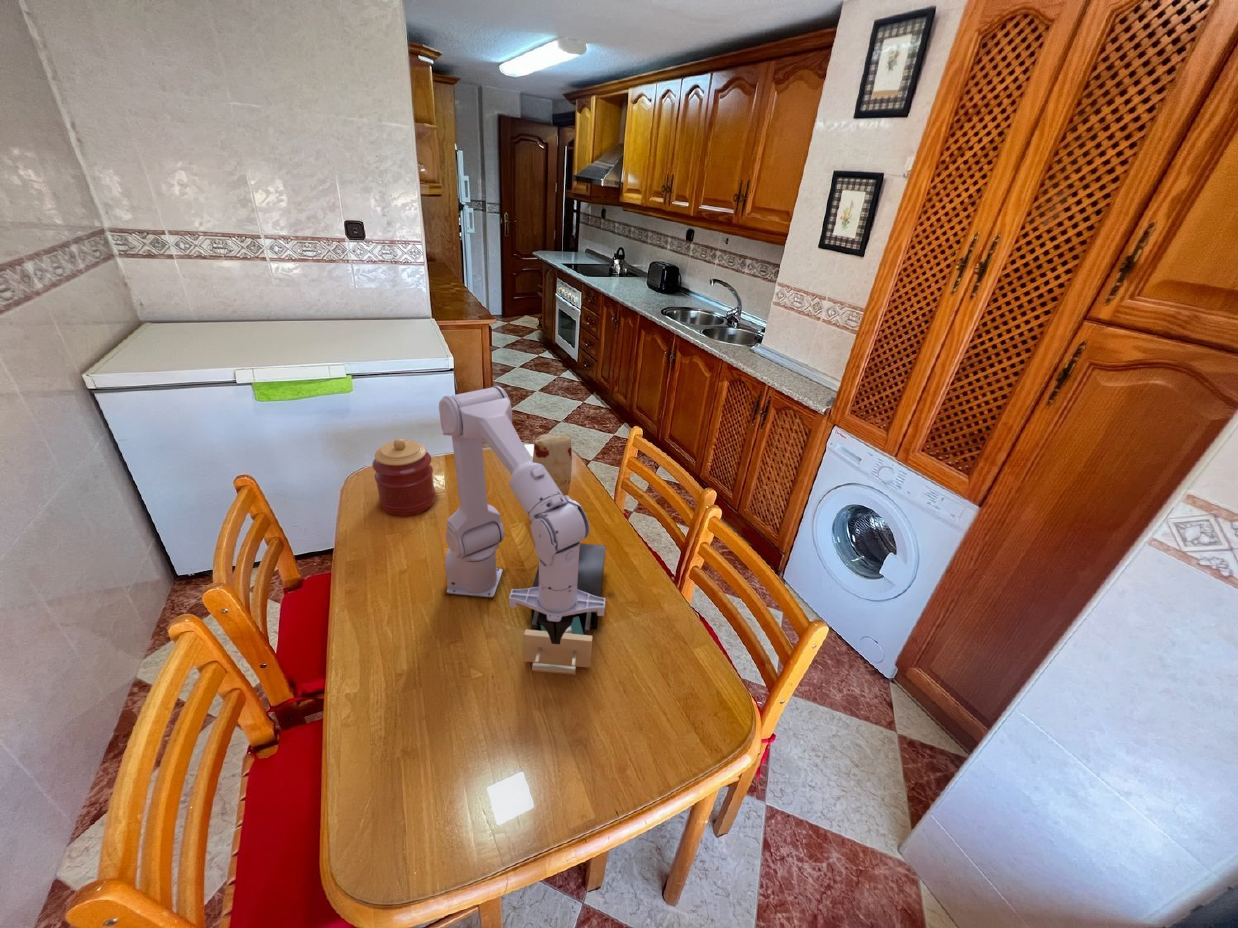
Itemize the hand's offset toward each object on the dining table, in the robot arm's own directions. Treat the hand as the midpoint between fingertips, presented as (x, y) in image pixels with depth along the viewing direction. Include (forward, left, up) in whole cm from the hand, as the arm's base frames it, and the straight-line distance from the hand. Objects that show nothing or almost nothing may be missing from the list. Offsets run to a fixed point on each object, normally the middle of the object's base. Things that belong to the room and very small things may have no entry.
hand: (556, 639), depth 80 cm
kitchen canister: (-44, +45, -10) cm, 64 cm away
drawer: (0, +7, -9) cm, 11 cm away
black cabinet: (0, +18, -10) cm, 21 cm away
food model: (-9, +50, -10) cm, 52 cm away
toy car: (0, +7, -8) cm, 10 cm away
